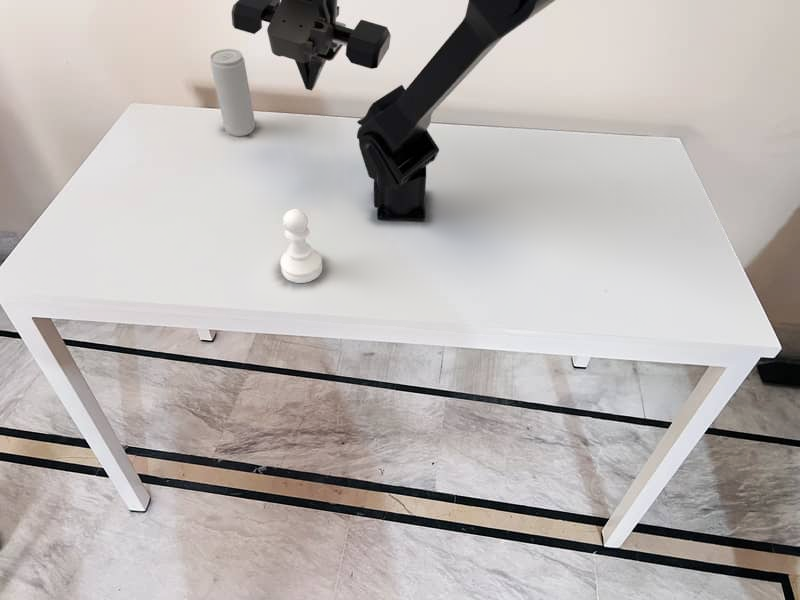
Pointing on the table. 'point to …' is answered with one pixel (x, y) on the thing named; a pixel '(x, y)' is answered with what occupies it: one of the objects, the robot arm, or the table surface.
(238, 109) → the beverage can
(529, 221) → the table surface
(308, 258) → the chess pawn
